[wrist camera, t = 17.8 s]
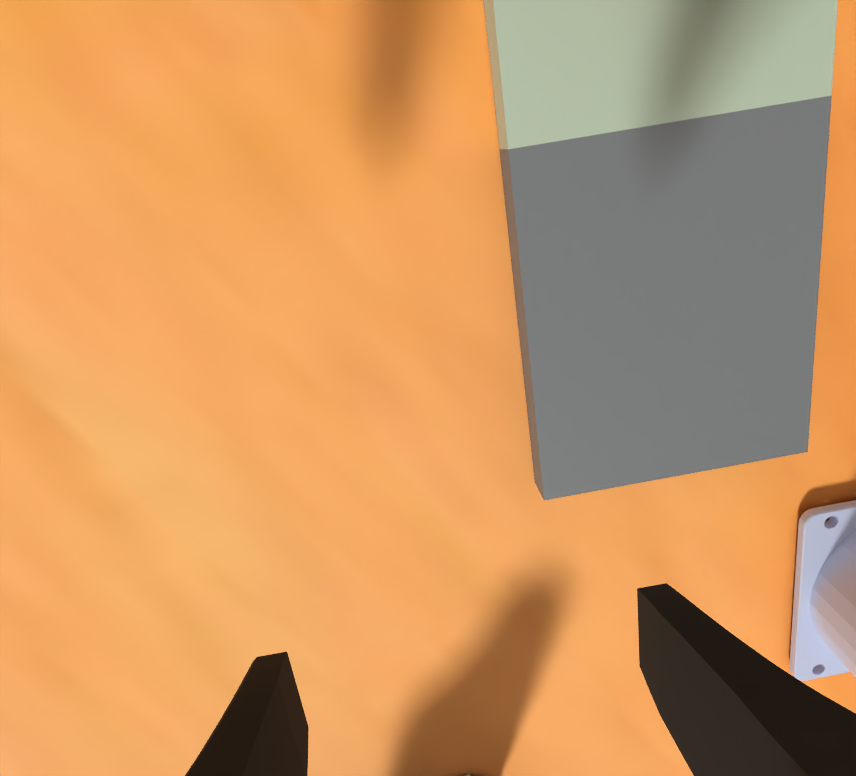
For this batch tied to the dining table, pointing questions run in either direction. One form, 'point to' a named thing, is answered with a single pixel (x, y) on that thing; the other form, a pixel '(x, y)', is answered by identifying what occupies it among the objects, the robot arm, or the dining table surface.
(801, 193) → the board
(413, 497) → the dining table surface
